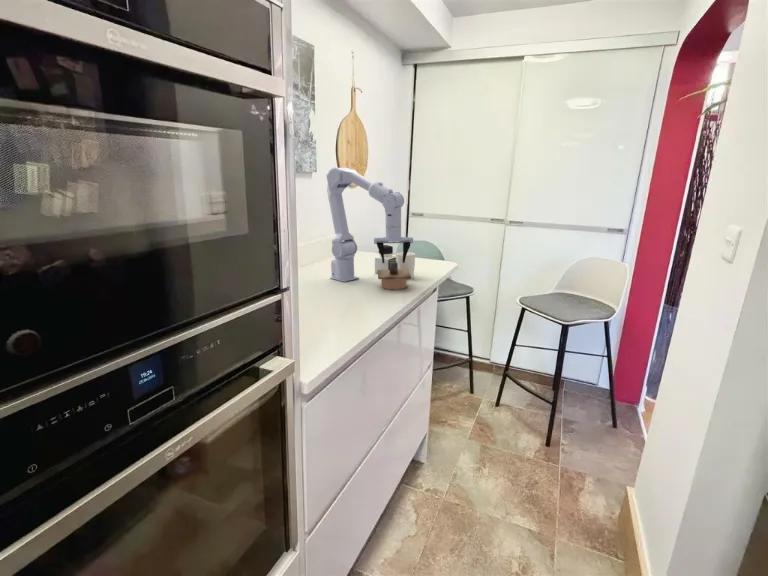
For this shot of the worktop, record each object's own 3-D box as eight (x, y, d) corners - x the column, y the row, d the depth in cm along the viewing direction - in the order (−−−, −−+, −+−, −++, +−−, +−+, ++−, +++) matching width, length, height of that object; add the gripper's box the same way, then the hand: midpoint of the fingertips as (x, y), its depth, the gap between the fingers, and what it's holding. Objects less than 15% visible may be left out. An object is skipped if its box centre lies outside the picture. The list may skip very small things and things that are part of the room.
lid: (378, 279, 156) (378, 266, 154) (377, 272, 167) (377, 260, 166) (411, 278, 156) (411, 265, 155) (407, 271, 168) (407, 259, 166)
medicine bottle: (388, 275, 181) (388, 247, 177) (374, 273, 184) (374, 246, 181) (397, 272, 186) (397, 244, 183) (383, 270, 190) (383, 243, 187)
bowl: (376, 286, 163) (376, 275, 162) (392, 282, 169) (392, 271, 168) (394, 290, 157) (394, 279, 155) (410, 286, 163) (410, 274, 162)
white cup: (415, 275, 180) (415, 252, 177) (414, 279, 173) (414, 255, 170) (396, 275, 181) (396, 251, 178) (395, 279, 173) (395, 255, 171)
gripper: (373, 227, 153) (374, 264, 156) (414, 227, 153) (413, 264, 157) (373, 225, 160) (374, 261, 163) (412, 224, 160) (411, 260, 164)
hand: (393, 262), depth 160 cm, fingers open, 7 cm apart
